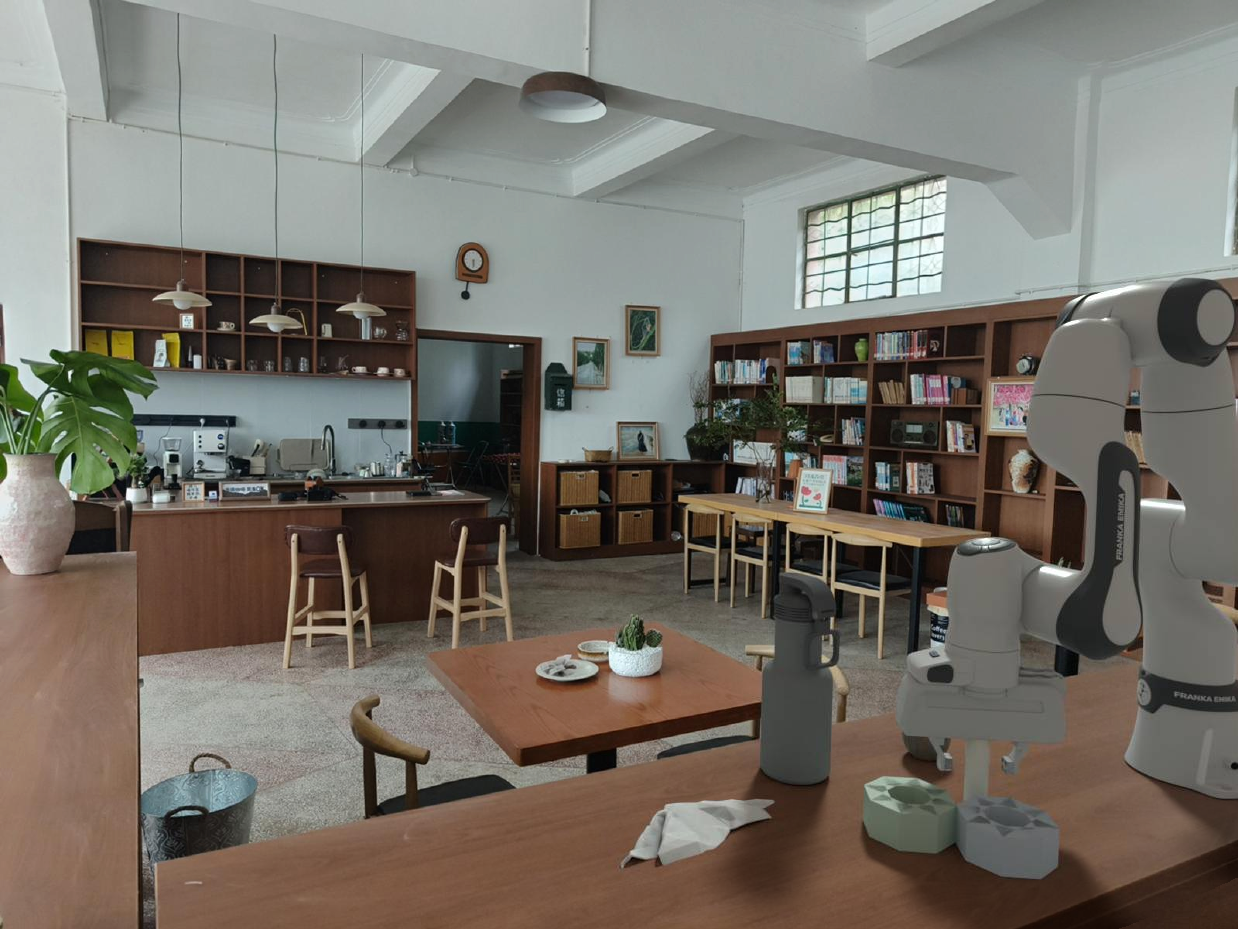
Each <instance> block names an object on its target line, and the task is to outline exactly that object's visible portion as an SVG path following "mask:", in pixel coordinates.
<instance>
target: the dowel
mask: <svg viewBox="0 0 1238 929" xmlns="http://www.w3.org/2000/svg"><path fill="white" fill-rule="evenodd" d="M990 747H991V740H976V739H965V753H964V755H965V756H964V782H963V783H964V784H963V801H965V800H967V799H969V798H971V797H973V796H988V794H989V771H990V769H989V768H990V750H991V749H990Z"/></svg>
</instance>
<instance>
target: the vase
mask: <svg viewBox="0 0 1238 929" xmlns="http://www.w3.org/2000/svg"><path fill="white" fill-rule="evenodd" d="M901 737H902V741H903V744H904V746H905V749H906V750H907V751H908V752H909V753H910V754H911V755H912V756H913V757H914V758H917V759H919V760H921V761H929V762H930V761H931V762H932V761H937V753H936V751H935V749H934V747H933V745H932V744H931V742H930V740H929V737H922V736H907V735H905V734H904V733H903V731H902V730H901ZM951 741H952V738H944V745H940V744H939V746H940V748H941V749H942V751H943V753H948V750H949V748H950V745H951Z"/></svg>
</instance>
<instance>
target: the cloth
mask: <svg viewBox="0 0 1238 929" xmlns="http://www.w3.org/2000/svg"><path fill="white" fill-rule="evenodd" d="M775 803H776V802H775V800H774V799H764V798H763V799H762V798H760V799H759V798H753V799H747V800H738V799H732V798H731V799H726V800H717V801H715V800H701V801H698V802H674V803H666V804H665V805H664V808H663V809H662V810H659V811H657V812H656V814H654V816H653V817H652V818H651V821H650V823H649V825H647V826H646V827H645V829H644V830H643V832H642V833H641V834H640V836H639V837H638V839H637V841H636V843H635V847H634V849H632V850H630V851H629V853H628V855H626V857H625V858H624V859H622V861H621V862H620V867H621V869H622V870H623V869H624V867H625V865H626V864H627V863H628V862H630V860H631V858H632V857H633V858H636V859H640V860H645V861H648V860H653V859H657V858H659V860H660V862H661V864H662V866H666V865H669V864H671V863H674V862H677V861H680V860H684V859H688V858H691V857H694V856H697V855H701V854H703V853H704V852H706V851H709V850H711V851H712V850H715V849H716V848H718V847H720V845H721V844H723V842H724V841H726V839H727V837H728V836H729V833H730V832H731V830H735V829H738V828H739V827H741V826H745V825H747V824H751V823H754V822H757V821H762V820H768V819H772V816H771V815H770V814H769V812H767V810H765V808H767V807H770V806H771V805H773V804H775Z"/></svg>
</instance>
